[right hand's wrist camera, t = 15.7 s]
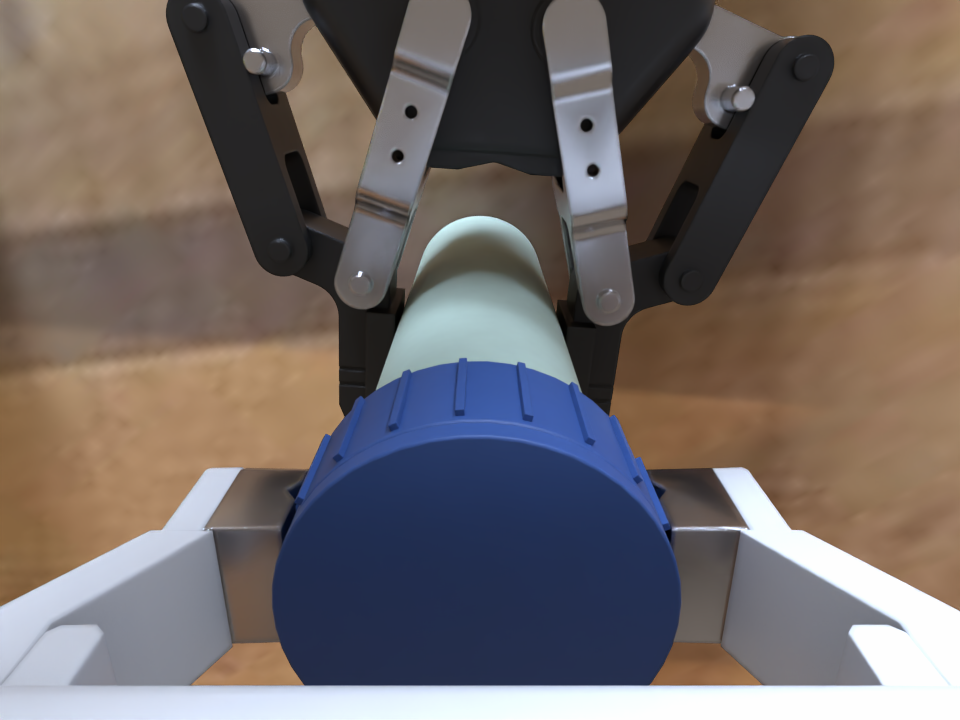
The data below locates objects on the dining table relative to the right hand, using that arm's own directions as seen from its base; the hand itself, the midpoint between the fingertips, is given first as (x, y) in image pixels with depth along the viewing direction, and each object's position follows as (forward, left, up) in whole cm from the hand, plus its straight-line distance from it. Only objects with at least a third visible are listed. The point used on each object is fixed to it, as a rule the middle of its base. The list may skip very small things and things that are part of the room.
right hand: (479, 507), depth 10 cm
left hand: (+3, +1, -7) cm, 8 cm away
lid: (0, 0, +2) cm, 2 cm away
